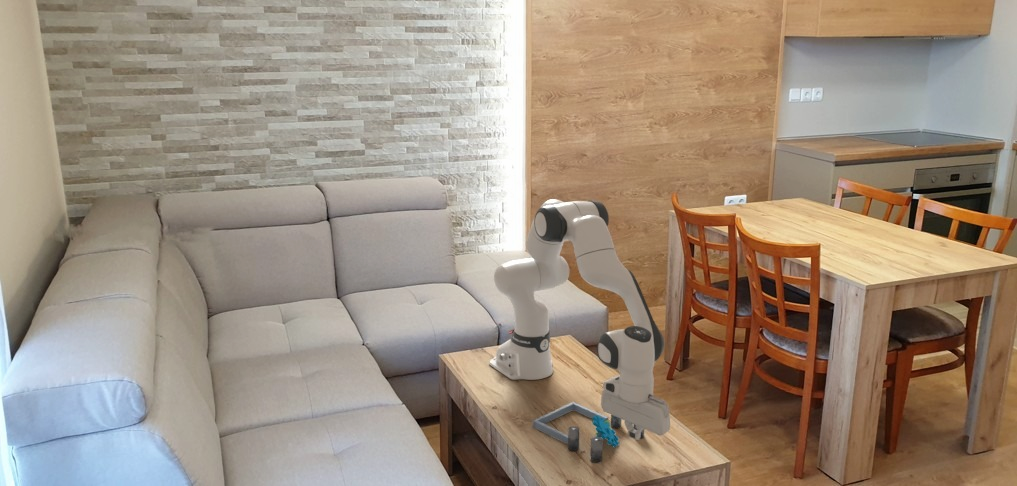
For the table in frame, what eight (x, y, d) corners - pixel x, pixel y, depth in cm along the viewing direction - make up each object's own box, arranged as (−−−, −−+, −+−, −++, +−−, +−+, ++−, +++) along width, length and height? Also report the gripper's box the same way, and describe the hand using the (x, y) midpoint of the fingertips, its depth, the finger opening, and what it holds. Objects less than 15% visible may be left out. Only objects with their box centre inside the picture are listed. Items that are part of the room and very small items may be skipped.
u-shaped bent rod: (532, 427, 221) (532, 420, 221) (572, 407, 233) (573, 401, 232) (567, 444, 212) (568, 437, 211) (608, 423, 223) (608, 417, 223)
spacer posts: (565, 448, 210) (565, 428, 208) (615, 422, 224) (615, 403, 222) (596, 464, 202) (597, 443, 201) (646, 436, 216) (647, 416, 215)
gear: (618, 449, 206) (593, 420, 207) (602, 462, 208) (577, 433, 209) (623, 434, 217) (599, 407, 218) (607, 447, 218) (583, 420, 219)
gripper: (676, 398, 196) (674, 447, 200) (613, 373, 211) (611, 420, 214) (661, 406, 192) (659, 456, 196) (598, 380, 207) (596, 428, 210)
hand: (634, 437), depth 205 cm, fingers closed
